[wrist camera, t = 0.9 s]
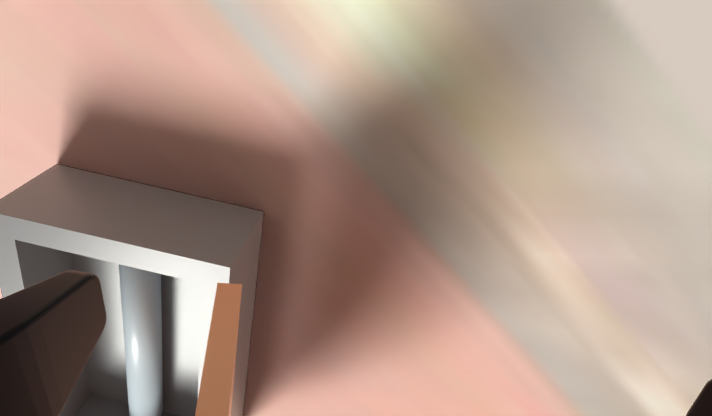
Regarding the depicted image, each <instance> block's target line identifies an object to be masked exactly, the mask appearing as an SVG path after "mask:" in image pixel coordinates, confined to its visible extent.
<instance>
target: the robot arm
mask: <svg viewBox="0 0 712 416" xmlns="http://www.w3.org/2000/svg"><path fill="white" fill-rule="evenodd" d="M105 324H106V309H105V304H104V299H103V294H102V289H101V284H100V280H99V278H98V277H97V276H96V275H94V274H92V273H87V272H81V271H75V270H69V271H65V272H62V273H60V274H58V275H55V276H53V277H51V278H48V279H46V280H44V281H41V282H39V283H37V284H34V285H32V286H29V287H27V288H25V289H22V290H20V291H18V292H15V293H13V294H11V295H8V296H6V297H4V298H1V299H0V416H59V414H60V412H61V410H62V409H63V407H64V405H65V403H66V401H67V399H68V397H69V395H70V394H71V392H72V390H73V388H74V386H75V384H76V382H77V380H78V378H79V376H80V374H81V372H82V371H83V369H84V367H85V365H86V363H87V361H88V359H89V357H90V355H91V353H92V351H93V349H94V348H95V346H96V344H97V342H98V340H99V338H100V336H101V334H102V332H103V330H104V327H105ZM686 416H712V379H711V380H710V381H708V382H707V383H706V385H705V386H704V388H703V390H702V391H701V393H700V394H699V396H698V397H697V399H696V400H695V402H694V403H693V405H692V406H691V408H690V409H689V411H688V413H687V415H686Z"/></svg>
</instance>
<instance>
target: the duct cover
mask: <svg viewBox="0 0 712 416" xmlns="http://www.w3.org/2000/svg"><path fill="white" fill-rule="evenodd" d="M241 291H242V284H230V283H217V289H216V295H215V301H214V307H213V312H212V318H211V324H210V330H209V336H208V342H207V348H206V354H205V360H204V366H203V372H202V378H201V383H200V389H199V395H198V401H197V407H196V413H195V416H231V408H232V396H233V385H234V373H235V361H236V350H237V338H238V326H239V315H240V303H241Z"/></svg>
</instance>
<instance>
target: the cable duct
mask: <svg viewBox="0 0 712 416" xmlns="http://www.w3.org/2000/svg"><path fill="white" fill-rule="evenodd" d="M263 215H264V212H263V211H259V210H255V209H250V208H246V207H242V206H237V205H233V204H228V203H224V202H220V201H215V200H211V199H207V198H202V197H198V196H194V195H189V194H185V193H181V192H176V191H172V190H167V189H163V188H159V187H154V186H150V185H146V184H141V183H137V182H133V181H128V180H124V179H120V178H115V177H111V176H106V175H102V174H98V173H93V172H89V171H85V170H80V169H76V168H72V167H67V166H63V165H59V164H56V165H54V166H53V167H51V168H49V169H48V170H46V171H45V172H43V173H41V174H40V175H38V176H37V177H35V178H34V179H32V180H30V181H29V182H27V183H26V184H24V185H22V186H21V187H19V188H18V189H16V190H14V191H13V192H11V193H10V194H8V195H6V196H5V197H3V198H2V199H0V288H1V293H2V297H3V298H4V297H6V296H8V295H11V294H13V293H15V292H18V291H20V290H22V289H25V288H27V287H29V286H32V285H34V284H37V283H39V282H41V281H44V280H46V279H48V278H51V277H53V276H55V275H58V274H60V273H62V272H65V271H69V270H75V271H81V272H87V273H92V274H94V275H96V276H97V277H98V278H99V280H100V284H101V289H102V294H103V299H104V304H105V309H106V324H105V327H104V330H103V332H102V334H101V336H100V338H99V340H98V342H97V344H96V346H95V348H94V349H93V351H92V353H91V355H90V357H89V359H88V361H87V363H86V365H85V367H84V369H83V371H82V372H81V374H80V376H79V378H78V380H77V382H76V384H75V386H74V388H73V390H72V392H71V394H70V395H69V397H68V399H67V401H66V403H65V405H64V407H63V409H62V410H61V412H60V414H59V416H195V413H196V407H197V401H198V395H199V389H200V383H201V378H202V372H203V366H204V360H205V354H206V348H207V342H208V336H209V330H210V324H211V318H212V312H213V307H214V301H215V295H216V289H217V283H230V284H242V291H241V303H240V315H239V326H238V338H237V350H236V361H235V373H234V385H233V396H232V408H231V416H243V408H244V398H245V389H246V379H247V369H248V360H249V350H250V341H251V331H252V321H253V312H254V302H255V292H256V283H257V273H258V264H259V254H260V244H261V235H262V225H263Z"/></svg>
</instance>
